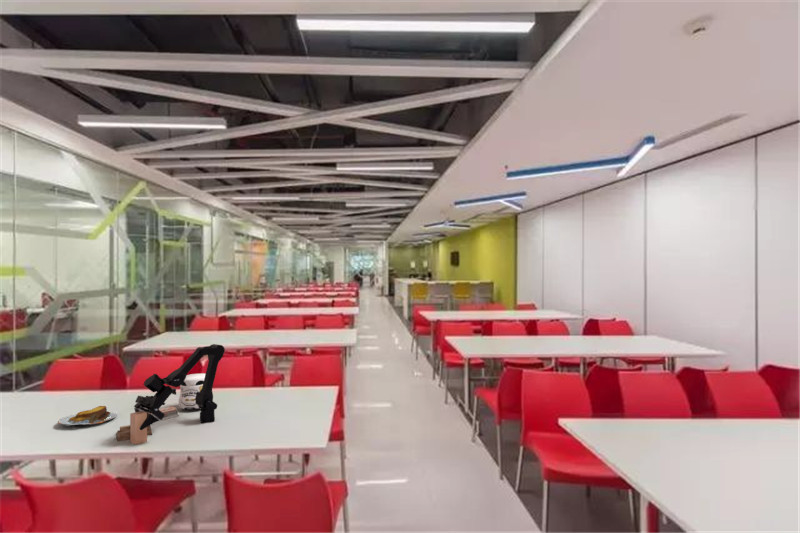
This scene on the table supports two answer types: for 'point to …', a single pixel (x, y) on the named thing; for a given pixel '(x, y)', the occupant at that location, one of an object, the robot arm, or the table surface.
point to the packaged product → (169, 413)
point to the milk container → (190, 391)
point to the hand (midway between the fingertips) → (135, 427)
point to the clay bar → (137, 427)
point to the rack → (125, 432)
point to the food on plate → (88, 417)
